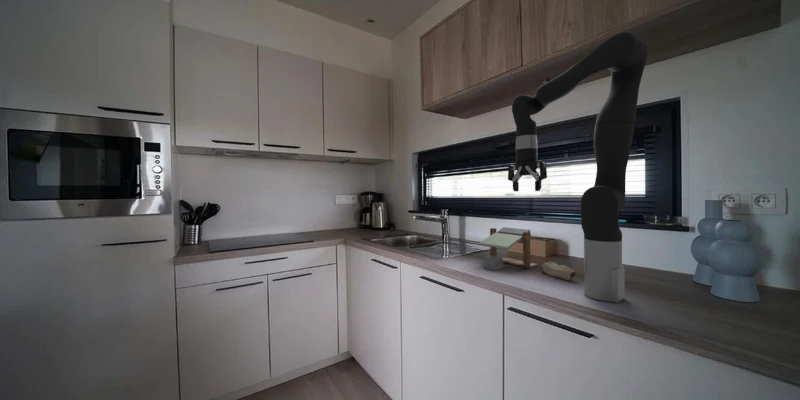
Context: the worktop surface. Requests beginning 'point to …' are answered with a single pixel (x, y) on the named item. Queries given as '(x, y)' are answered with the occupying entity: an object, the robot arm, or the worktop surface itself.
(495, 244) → the trapdoor
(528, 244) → the frame
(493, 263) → the grey block
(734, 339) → the worktop surface
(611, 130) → the robot arm
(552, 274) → the bone fragment
